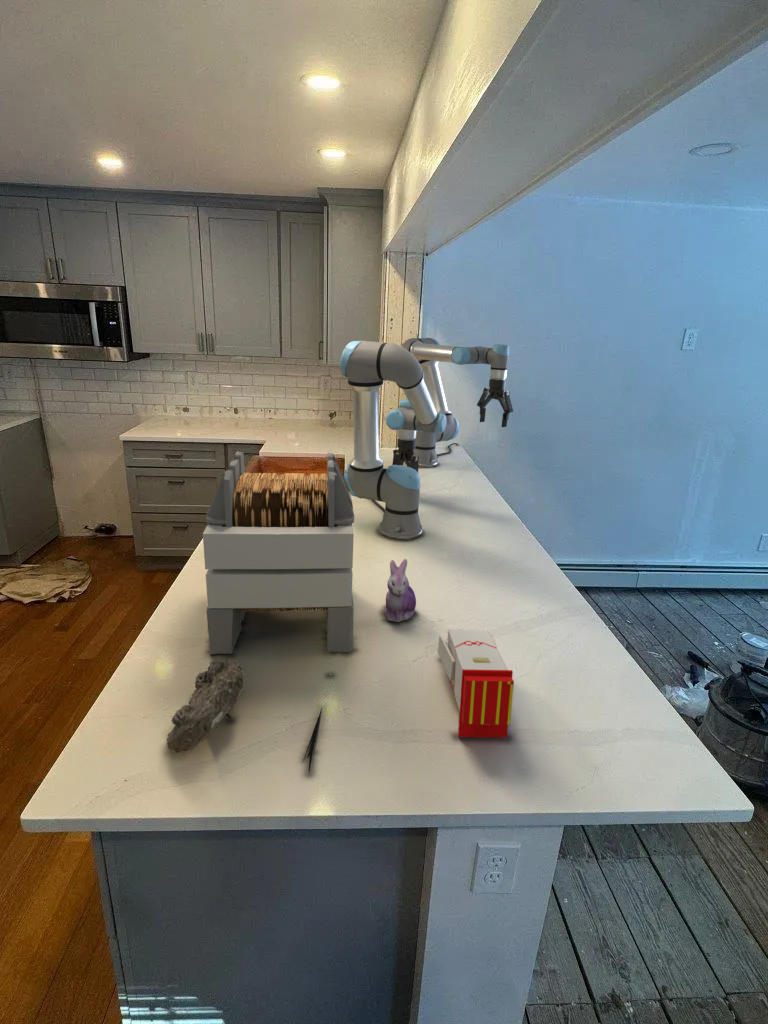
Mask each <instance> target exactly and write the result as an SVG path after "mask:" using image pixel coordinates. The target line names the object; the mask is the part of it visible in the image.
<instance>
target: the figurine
mask: <svg viewBox="0 0 768 1024" xmlns="http://www.w3.org/2000/svg"><path fill="white" fill-rule="evenodd" d="M407 567H408V559H406V558H404V559H403V560H402V561H401V563H400V565H399V566H398V565H397V563H396V562H395V561H394V560H393V559H391V560H390V561H389V570H390V576H389V578H388V579H387V589H388V591H387V592H386V594H385V595H386V596H385V607H384V615H385V616H386V620H387V621H391V622H395V623H400V622H402V621H406V620H409V619H410V618H411V617H413V616H414V615H415V610H416V606H417V597H416V593H415V591H414V590H413V587H411V586H410V582H409V579H408V577H407V574H406V571H407Z"/></svg>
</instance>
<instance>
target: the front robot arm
mask: <svg viewBox="0 0 768 1024" xmlns="http://www.w3.org/2000/svg"><path fill="white" fill-rule="evenodd" d="M339 366H340V372H341V375H342V376H343V377H344V378H347V385H348V386H349V387H350V388H351V389H352V414H353V415H352V420H353V421H352V423H353V458H352V459H351V460H349V464H347V466H346V467H345V469H344V474H343V476H344V478H345V481H346V483H347V485H348V487H349V489H350V491H351V492H350V493H351V497H354V498H359V499H365V500H369V501H370V500H371V502H373V503H374V504H375V505H376V506H377V507H378V508H379V509H380V510H381V511H383V515H382V519H381V522H379V526H378V533H379V534H380V535H381V536H382V537H385V538H387V539H389V540H395V541H410V540H415V539H418V538H420V537H421V536H422V535H423V525H422V524H421V518H420V515H419V507H420V506H419V505H420V496H421V495H420V494H421V493H420V492H421V474H420V472H419V467H418V460H419V456H416V455H414V449H415V447H416V440H415V438H416V431H423V432H430V433H443V432H444V430H445V427H446V415H445V414H442V413H437V411H436V409H435V407H434V404H433V402H432V400H431V397H430V395H429V392H428V390H427V387H426V385H425V382H424V378H423V377H424V372H423V370H422V367H421V365H420V363H419V362H418V360H417V359H416V358H415V357H414V356H413V355H412V354H411V353H410V352H409V351H408V350H406V349H405V348H403V347H402V345H401V344H400V345H399V344H397V343H393V342H380V341H379V342H378V341H369V340H352V341H350V342H348V343H347V344H346V346H345V347H344V349H343V351H342V353H341V357H340V363H339ZM385 381H387V382H393V383H395V384H396V385H397V387H398V388H400V389H402V391H403V393H404V395H405V397H406V398H405V399H400V400H399V405H398V408H395V409H392V410H391V411H389V412H388V413H387V414H386V417H385V423H386V426H387V427H388V428H389V429H390V430H393V431H397V441H396V444H397V445H396V447H397V449H393V450H392V453H393V455H392V457H393V458H392V464H391V465H388V466H387V468H384V460H383V459H382V458H381V457H380V393H379V392H380V388H382V386H383V385H384V382H385ZM409 461H410V462H409ZM404 464H405V465H404ZM378 502H382V503H385V504H384V505H385V507H383V506H382V505H381V504H380V503H378Z"/></svg>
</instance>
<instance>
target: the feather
mask: <svg viewBox="0 0 768 1024" xmlns="http://www.w3.org/2000/svg"><path fill="white" fill-rule="evenodd" d="M329 675H330V676H331V675H332V674H331V673H330V674H329ZM322 710H323V707H321V708H320V710H319V713H318V716H317V719H316V723H315V725H314V728H313V731H312V733H311V737H310V739H309V742H308V745H307V748H306V751H305V754H304V757H303V760H302V763H301V767H302V765H303V763H304V761H305V758H308V759H309V760H308V762H307V763H308V764H307V766H308V771H310V770H311V766H312V765H311V764H312V760H313V757H315V756H314V755H315V751H316V749H315V746H317V739H318V733H319V729H320V722H321V717H322V712H323V711H322ZM313 754H314V755H313ZM306 755H307V757H306Z"/></svg>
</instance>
